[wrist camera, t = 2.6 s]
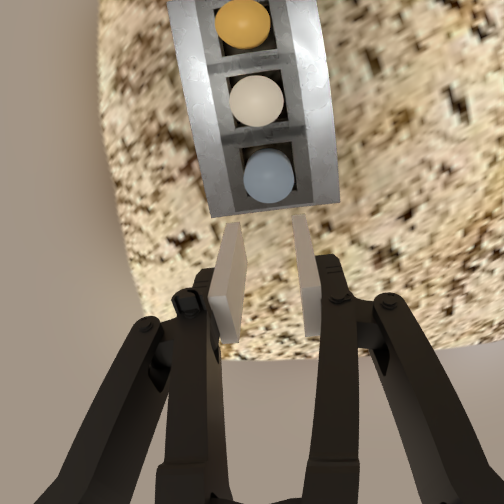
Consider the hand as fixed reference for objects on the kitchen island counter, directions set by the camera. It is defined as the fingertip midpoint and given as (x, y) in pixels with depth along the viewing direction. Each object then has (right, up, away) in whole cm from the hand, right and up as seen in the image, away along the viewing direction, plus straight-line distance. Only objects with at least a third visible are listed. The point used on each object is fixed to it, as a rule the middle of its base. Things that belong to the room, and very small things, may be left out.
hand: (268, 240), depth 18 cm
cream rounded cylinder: (0, +15, +11) cm, 19 cm away
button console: (0, +16, +13) cm, 21 cm away
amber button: (-1, +21, +8) cm, 22 cm away
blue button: (+1, +9, +15) cm, 17 cm away
